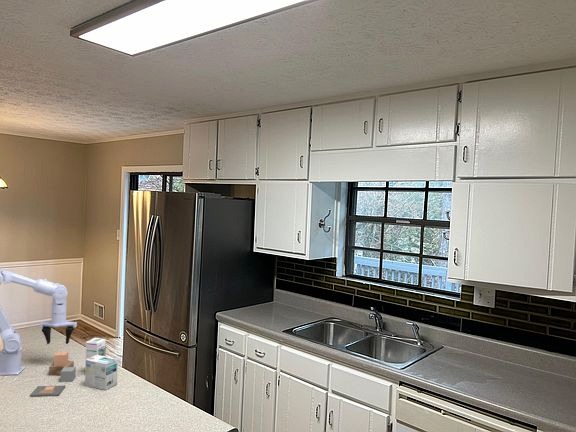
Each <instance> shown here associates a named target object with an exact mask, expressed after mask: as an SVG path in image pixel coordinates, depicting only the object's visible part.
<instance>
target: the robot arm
mask: <svg viewBox="0 0 576 432" xmlns="http://www.w3.org/2000/svg"><path fill="white" fill-rule="evenodd" d="M47 279H48V278H43V279H42V278H38V279H36V280H35V279H32V278H30V277H27V276H25V275H22V274H20V273H15V272H13V271H10V270H5V269H0V285H1V284H2V283H3V285H6V284H11V283H13V284H18V285H20V286H24V287H29V288H32V289H33V291H34V292H35V293H38V294H41V295H45V296H48V297H52V302H51V320H50V321H41V322H39V328H41V332H42V334H43V335H44V338H45V341H46V345H49V344H50V343H51V333H52V328H65V344H66V345H67V344H69V343H70V339H71V336H72V333H73V331H74V329H75V328H77V326H78V322H77V321H70V320H69V321H68V320H67V303H68V302H67V297H68V295H69V294H68V293H69V292H68V289H67V288H66V286H65V285H63V284H61V283H58V282H52V281H48V280H47ZM0 338H1V341H2V347H3V348H2V349H1V350H0V376H16V375H17V376H18V375H20V373H21V372H23V370H24V369H26V366H23V364H22V362H23V347H22V336H21V334H20V333H19V332H17V331H16V330H15V329H14V327H13V326H12V325H11V322H10V321H9V319H8V318H7V315H6V313H5V312H4V310H3V309H2V307H1V305H0Z"/></svg>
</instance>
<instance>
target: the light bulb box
mask: <svg viewBox="0 0 576 432" xmlns="http://www.w3.org/2000/svg"><path fill="white" fill-rule="evenodd" d="M118 361H119V360H118V358H115V357H109V356H101V355H95V356H93V357H90V358H88V359H86V358H85V370H84V371H85V372H84V373H85V374H84V377H85V378H84V379H85V380H84V386H85V387H86V386H87V387H91V388H95V389H100V390H102V391H103V390H104V391H107V390H109V389H111V388H113V387H115V386H116V385H118V364H119V363H118Z"/></svg>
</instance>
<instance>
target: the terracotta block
mask: <svg viewBox="0 0 576 432" xmlns="http://www.w3.org/2000/svg"><path fill="white" fill-rule="evenodd" d="M53 355H54V356H53V364H54V366H66V364H67V363H68V361H69V351H68V350H67V351H55V353H54V354H53Z"/></svg>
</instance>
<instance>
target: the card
mask: <svg viewBox="0 0 576 432" xmlns="http://www.w3.org/2000/svg"><path fill="white" fill-rule="evenodd" d="M65 389H66V385H38V386H37V387H36V388H35V389H34V390H33V391H32V392H31V393H30V394H29V397H30V398H34V397H59V396H60V395H61V394H62V393H63V391H64V390H65Z"/></svg>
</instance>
